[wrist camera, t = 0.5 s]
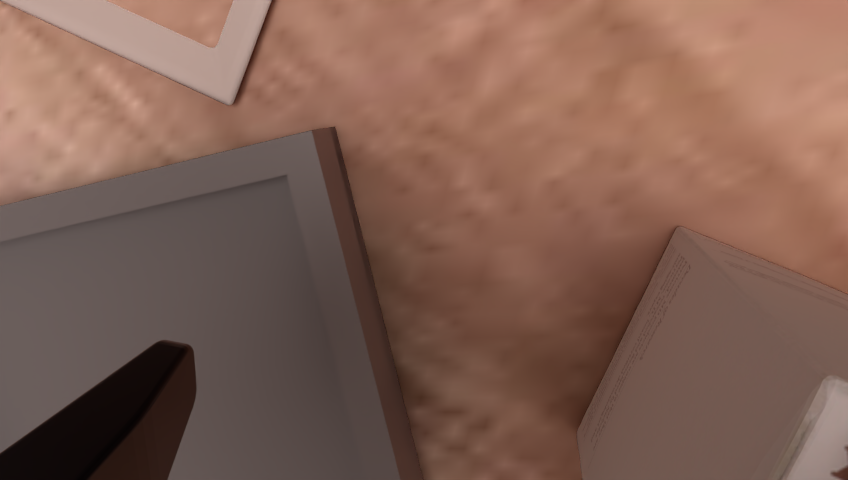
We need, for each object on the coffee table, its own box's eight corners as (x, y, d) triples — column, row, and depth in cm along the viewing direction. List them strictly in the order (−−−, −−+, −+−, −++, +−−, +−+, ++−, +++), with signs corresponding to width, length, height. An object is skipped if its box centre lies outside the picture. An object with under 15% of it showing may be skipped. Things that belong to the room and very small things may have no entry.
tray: (454, 605, 26) (445, 657, 24) (29, 658, 29) (-18, 710, 27) (335, 126, 24) (311, 130, 21) (-114, 235, 27) (-179, 249, 24)
